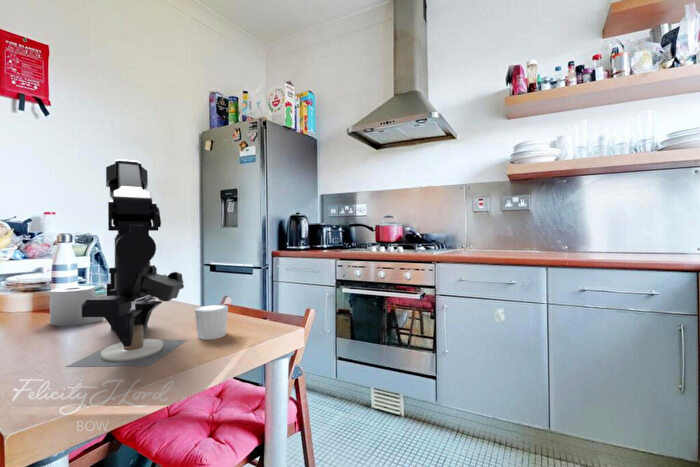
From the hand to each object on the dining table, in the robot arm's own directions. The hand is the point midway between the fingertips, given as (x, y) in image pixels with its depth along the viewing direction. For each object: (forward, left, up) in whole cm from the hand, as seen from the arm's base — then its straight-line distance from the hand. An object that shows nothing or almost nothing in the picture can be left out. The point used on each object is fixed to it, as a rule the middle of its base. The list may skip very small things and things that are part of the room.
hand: (133, 343), depth 65 cm
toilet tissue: (-30, +26, -3) cm, 40 cm away
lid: (0, 0, -2) cm, 2 cm away
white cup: (+11, +10, -3) cm, 15 cm away
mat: (0, 0, -2) cm, 2 cm away
